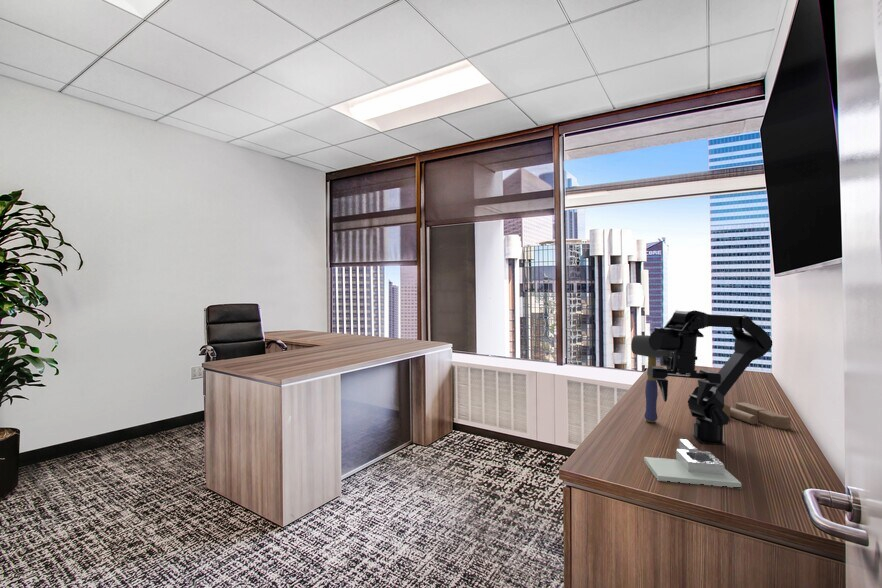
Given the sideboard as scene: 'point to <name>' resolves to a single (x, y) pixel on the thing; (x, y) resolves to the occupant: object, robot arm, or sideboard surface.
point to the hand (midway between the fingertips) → (681, 402)
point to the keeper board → (687, 473)
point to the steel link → (691, 465)
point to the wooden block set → (757, 415)
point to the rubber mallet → (643, 348)
